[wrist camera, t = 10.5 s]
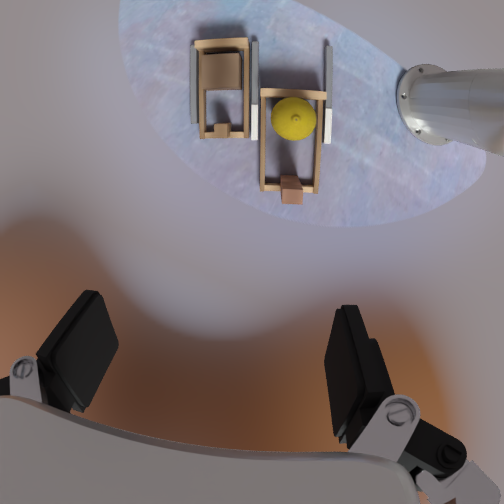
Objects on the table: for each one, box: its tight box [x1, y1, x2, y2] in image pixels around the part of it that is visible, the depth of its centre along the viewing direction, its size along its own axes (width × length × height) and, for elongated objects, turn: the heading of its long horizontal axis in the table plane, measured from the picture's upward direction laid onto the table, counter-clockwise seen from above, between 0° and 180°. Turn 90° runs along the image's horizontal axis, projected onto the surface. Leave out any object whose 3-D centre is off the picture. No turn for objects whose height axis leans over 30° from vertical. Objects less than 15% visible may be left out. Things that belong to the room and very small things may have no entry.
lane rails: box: [251, 42, 333, 144], centre depth 33 cm, size 10×14×2 cm
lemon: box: [271, 97, 316, 141], centre depth 32 cm, size 6×6×8 cm
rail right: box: [190, 45, 199, 124], centre depth 34 cm, size 1×11×2 cm, turn 0°
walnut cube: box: [202, 53, 242, 91], centre depth 32 cm, size 4×4×4 cm
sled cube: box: [195, 38, 250, 139], centre depth 33 cm, size 6×14×4 cm, turn 0°
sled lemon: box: [260, 88, 327, 204], centre depth 34 cm, size 8×14×8 cm, turn 179°
